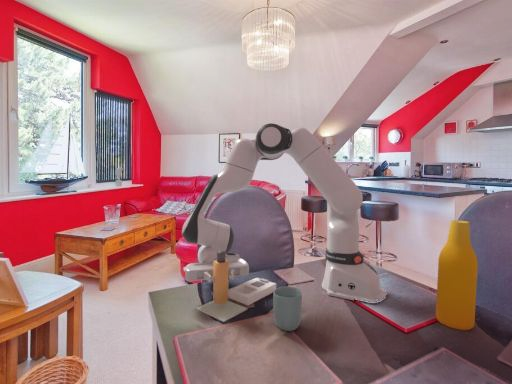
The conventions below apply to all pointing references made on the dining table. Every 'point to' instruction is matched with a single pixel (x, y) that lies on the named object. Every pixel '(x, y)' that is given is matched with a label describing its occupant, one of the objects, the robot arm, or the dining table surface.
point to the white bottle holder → (251, 290)
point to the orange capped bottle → (221, 278)
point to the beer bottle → (457, 279)
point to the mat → (222, 310)
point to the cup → (287, 307)
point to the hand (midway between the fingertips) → (221, 278)
